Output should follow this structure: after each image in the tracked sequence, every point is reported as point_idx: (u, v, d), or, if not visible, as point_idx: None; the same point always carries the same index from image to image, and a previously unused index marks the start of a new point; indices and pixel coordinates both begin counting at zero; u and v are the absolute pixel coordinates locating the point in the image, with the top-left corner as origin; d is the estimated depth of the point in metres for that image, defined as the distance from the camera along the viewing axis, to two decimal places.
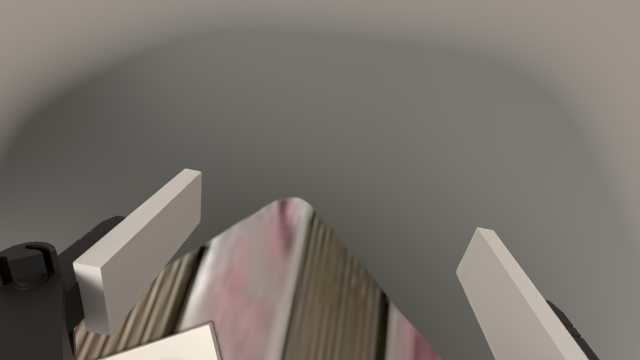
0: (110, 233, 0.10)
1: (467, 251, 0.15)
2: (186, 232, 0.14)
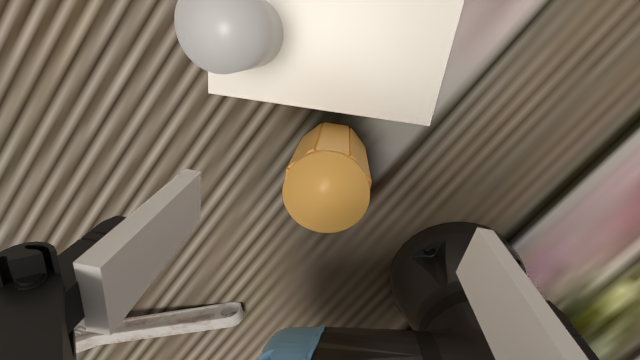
0: (110, 233, 0.10)
1: (467, 251, 0.15)
2: (186, 232, 0.14)
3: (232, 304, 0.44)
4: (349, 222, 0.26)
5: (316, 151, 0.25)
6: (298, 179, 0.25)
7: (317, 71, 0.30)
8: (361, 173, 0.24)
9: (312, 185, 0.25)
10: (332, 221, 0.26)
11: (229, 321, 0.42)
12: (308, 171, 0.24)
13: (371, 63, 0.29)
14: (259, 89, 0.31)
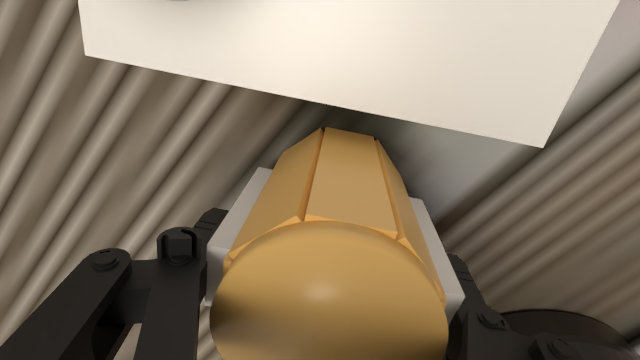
0: (223, 222, 0.11)
1: None
2: None
3: None
4: None
5: (305, 225, 0.09)
6: (252, 299, 0.09)
7: (316, 17, 0.13)
8: (432, 298, 0.08)
9: (289, 315, 0.09)
10: None
11: None
12: (280, 282, 0.09)
13: (440, 3, 0.13)
14: (191, 52, 0.14)
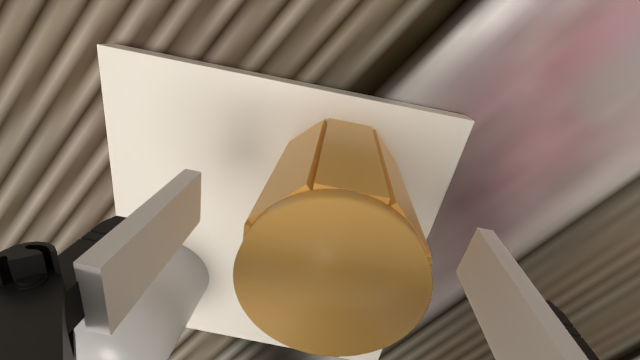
0: (109, 233, 0.10)
1: (467, 251, 0.15)
2: (186, 232, 0.14)
3: None
4: (377, 342, 0.12)
5: (314, 192, 0.10)
6: (269, 254, 0.11)
7: None
8: (418, 251, 0.10)
9: (300, 268, 0.11)
10: (342, 338, 0.12)
11: None
12: (293, 239, 0.10)
13: None
14: None
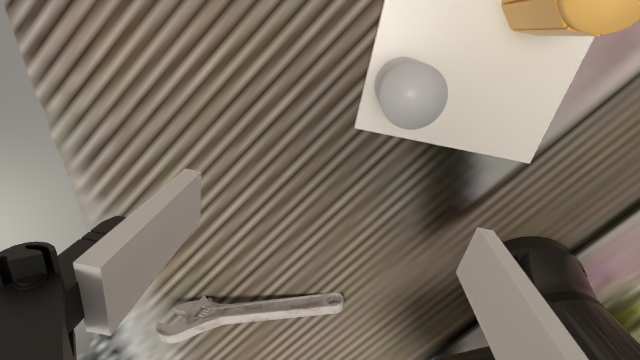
0: (109, 233, 0.10)
1: (467, 251, 0.15)
2: (186, 232, 0.14)
3: (334, 294, 0.52)
4: (632, 18, 0.23)
5: None
6: None
7: (447, 117, 0.37)
8: None
9: None
10: (612, 17, 0.23)
11: (335, 309, 0.50)
12: None
13: (493, 114, 0.37)
14: (397, 127, 0.38)
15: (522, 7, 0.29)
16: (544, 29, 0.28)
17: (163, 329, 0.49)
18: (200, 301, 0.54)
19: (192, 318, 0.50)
